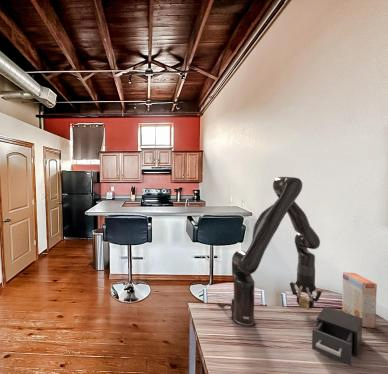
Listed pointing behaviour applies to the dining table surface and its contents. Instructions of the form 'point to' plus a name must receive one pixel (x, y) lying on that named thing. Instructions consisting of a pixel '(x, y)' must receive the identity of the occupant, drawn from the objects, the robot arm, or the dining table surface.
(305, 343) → the dining table surface
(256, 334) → the dining table surface
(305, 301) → the block
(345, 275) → the cracker box
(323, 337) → the drawer
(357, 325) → the dark grey box
